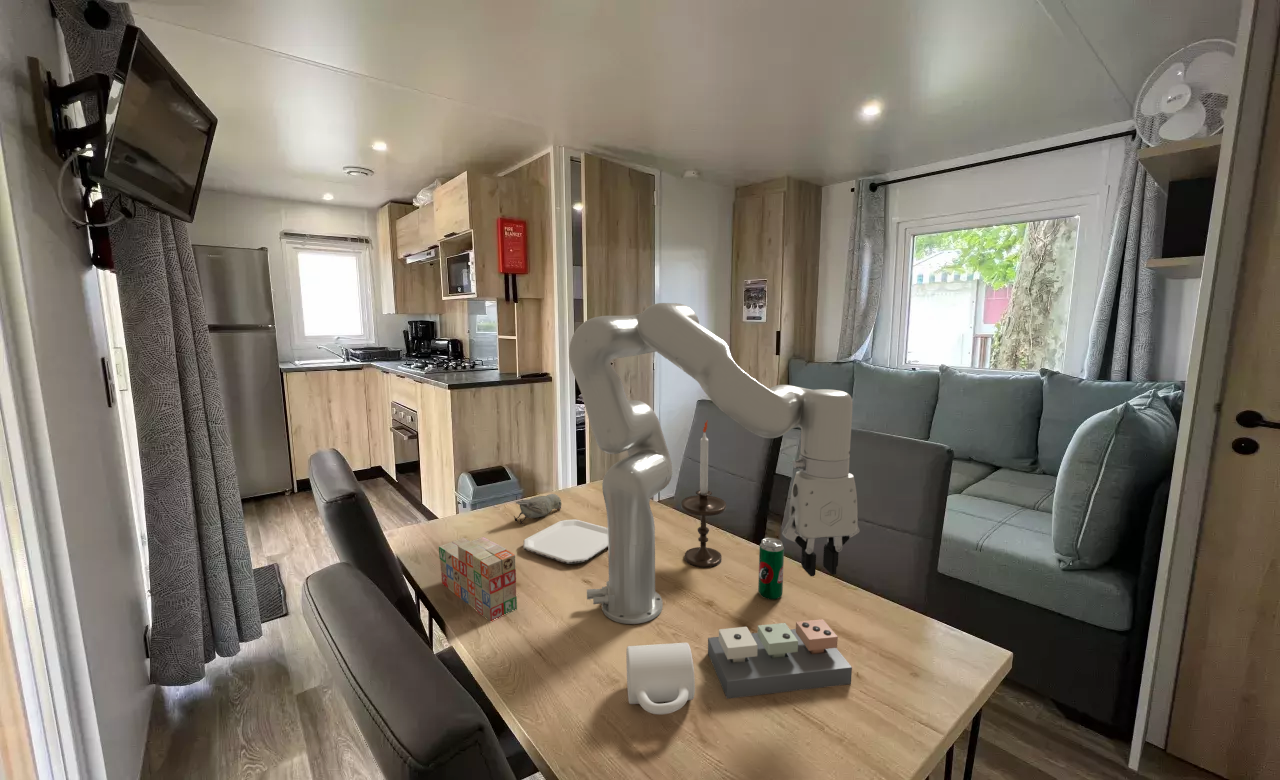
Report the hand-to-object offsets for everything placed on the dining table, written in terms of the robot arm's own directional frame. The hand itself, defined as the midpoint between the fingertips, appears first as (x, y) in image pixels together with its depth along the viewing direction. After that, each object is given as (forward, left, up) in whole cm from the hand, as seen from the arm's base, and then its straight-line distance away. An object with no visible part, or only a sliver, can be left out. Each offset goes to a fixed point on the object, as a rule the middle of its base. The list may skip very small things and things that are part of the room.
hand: (819, 570), depth 86 cm
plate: (-41, +53, -18) cm, 69 cm away
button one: (-14, 0, -16) cm, 21 cm away
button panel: (-7, 0, -17) cm, 19 cm away
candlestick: (-9, +40, -17) cm, 45 cm away
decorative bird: (-51, +73, -18) cm, 90 cm away
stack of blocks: (-62, +31, -18) cm, 71 cm away
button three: (0, 0, -16) cm, 16 cm away
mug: (-28, -5, -18) cm, 33 cm away
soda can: (+1, +22, -17) cm, 28 cm away
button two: (-7, 0, -16) cm, 17 cm away
